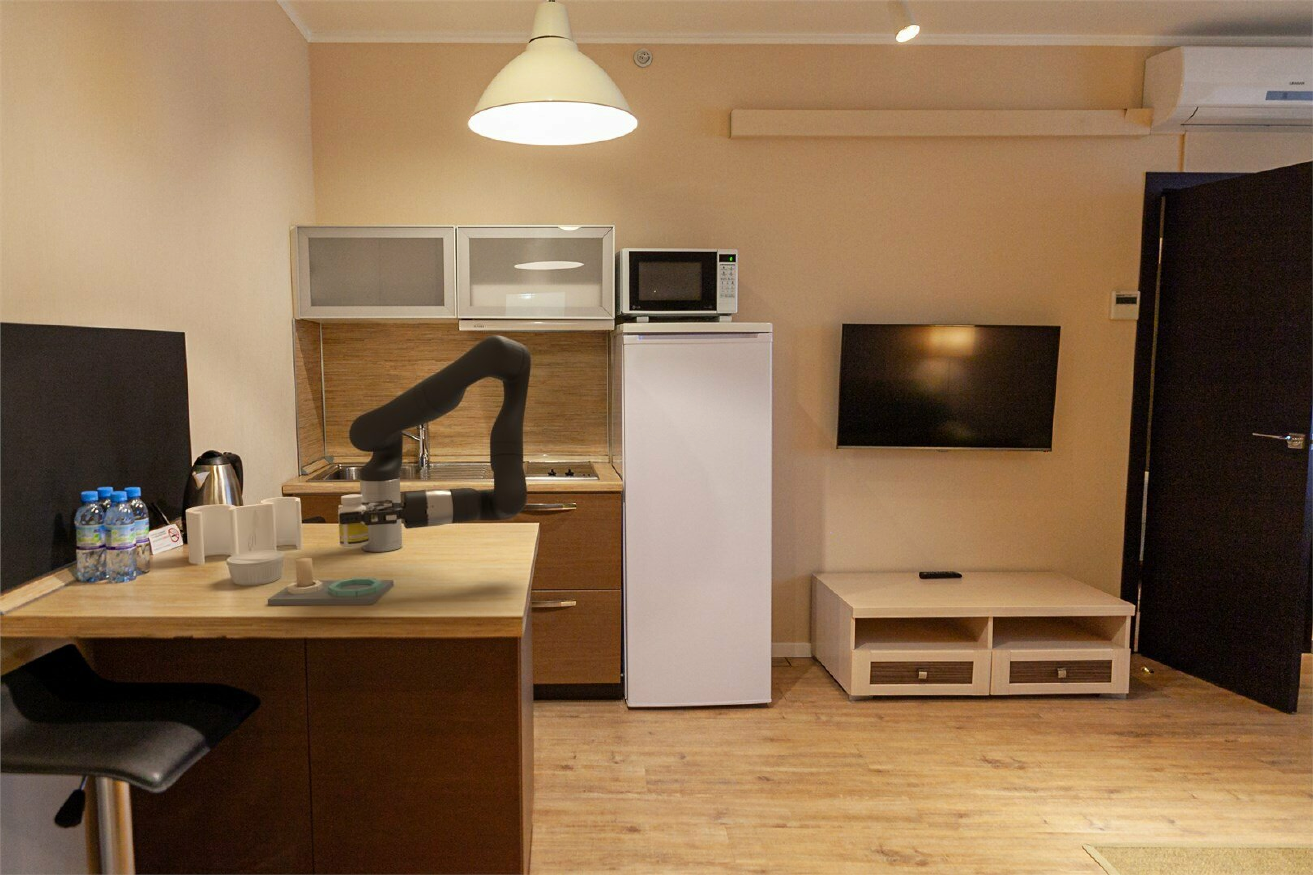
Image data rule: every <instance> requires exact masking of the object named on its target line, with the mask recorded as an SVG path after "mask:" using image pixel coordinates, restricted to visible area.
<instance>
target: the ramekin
mask: <svg viewBox="0 0 1313 875" xmlns="http://www.w3.org/2000/svg"><path fill="white" fill-rule="evenodd" d="M285 557H286V555H285V552H283V551H282V550H277V551H276V550H257V551H250V552H244V553H240V554H236V555H233V556H231V555H230V556H229V557H228V558H227V559H226V565H227V566H228V572H229V575H230V577H231V581H232V582H233V584H235V585H237V586H244V587H248V586H260V585H266V584H270V583H274V582H276V581H278V580H280V579H281V577H282V575H283V570H284V562H285V560H284V559H285Z"/></svg>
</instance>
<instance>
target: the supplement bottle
mask: <svg viewBox="0 0 1313 875" xmlns="http://www.w3.org/2000/svg"><path fill="white" fill-rule="evenodd" d="M340 502H341V505H342V506H341V508H340V507H339V508H340V509H339V510H338V509H337V517H338V520H339V514H340V513H343V512H355V511H359V513H360V511H362V510H367V508H366V507H365V506H363V505H362V502H363V496H362V495H361V493H360V494H359V493H358V494H357V493H356V494H353V493H351V494H347V495H346V494H345V495H342V496H340ZM338 530H339V531H338V533H339V534H338V535H339V545H340V547H343V548H358V547H359V548H360V547H361V546H363V545H366V544H368V543H369V534H368V526H367V525H365V524H361V522H360V523H354V524H343V525H342V524H340V522H339V521H338Z"/></svg>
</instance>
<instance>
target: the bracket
mask: <svg viewBox="0 0 1313 875" xmlns="http://www.w3.org/2000/svg"><path fill="white" fill-rule="evenodd" d="M185 519H186V520H185V521H186V536H187V550H188V551H187V552H188V562H189V563H190V564H193V565H197V566H203V565H205V564H206V561H205V557H208V556H214V555H215V556H216V555H218V556H219V555H229V556H230V557H231V556H233V555H236V554H240V553H244V552H250V551H257V550H276V551H278V549H277V547H279V546H296V549H297V550H302V549H303V547H304V545H303V526H302V525H303V523H302V504H301V498H300V497H295V496H283V497H282V496H281V497H280V496H279V497H270V498H265V499H262V500H261V501H260V502H259V503H257V504H256V503H255V504H249V505H241V506H240V505H239V506H236V505H233V504H227V503H225V504H221V503H220V504H218V503H217V504H207V505H205V504H204V505H198V506H193V507H190V508H187V509H186V510H185Z"/></svg>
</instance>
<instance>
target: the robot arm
mask: <svg viewBox="0 0 1313 875" xmlns="http://www.w3.org/2000/svg"><path fill="white" fill-rule="evenodd" d="M531 357H532V356H531V352H530V350H529V349H528V347H526V346H525V345H524V344H522V343H520V342H518V341H515V340H513V339H510V338H508V337H506V336H503V335H495V334H494V335H490V336H486V338H484V339H483V340H481V341H480V342H478V343H477V344H476V345H474V346H472V348H471V349H469V350H468V351H466V352H465V353H464V354H463V355H461V357H459V358H458V359H456V360H455V361H453V362H451V363H449V364H448V365H447V366H445V367H443V368H442V369H440V370H439V371H437V372H436V373H434V374H431V375H429V376H428V377H426V378H425V379H422V380H421V381H420V382H418V383H416V384H415V385H414V386H412V387H410V388H409V389H407V390H405V391H404V392H402V393H401V394H399V395H398V396H396V397H395V398H393V399H392V400H391V401H389V402H387V403H385V404H384V405H380V406H379V407H377V408H375V409H372V410H369V411H368V412H365V413H362V414H360V415H359V416H357V417H356V418H355V419H354V420H353V421H352V423H351V425H350V428H349V432H348V438H349V441H350V443H351V445H352V447H354V448H355V449H356V450H358V451H361V452H365V453H372V455H371V458H370V459H369V461H367V462H366V464H364V465H362V466H361V468H359V484H360V485H359V488H360V495H362V496H363V502H362V505H363V506H365V507H366V508H367V510H362V511H360V513H359V511H355V512H343V513H340V514H339V519H338V523H339V522H340V524H342V525H343V524H354V523H360V522H361V524H365V525H367V526H368V534H369V543H368V544H366V545H363V546H360V547H361V548H362V549H363V551H366V552H371V553H372V552H375V553H380V552H389V551H396V550H398V549H401V548H402V547H403V533H402V532H403V530H402V527H404V528H405V529H421V528H429V527H440V526H443V525H448V524H459V523H467V522H473V521H474V522H475V521H484V522H485V521H487V522H489V521H491V522H492V521H496V522H497V521H507V520H511V519H513V518H515V517H516V516H517V515H519V514H520V513H522V511H523V510H524V509H525V507H526V505H527V500H528V488H527V487H528V486H527V481H526V475H525V469H524V422H525V421H524V419H525V413H526V405H527V399H528V398H527V397H528V391H529V383H530V378H531V377H530V376H531V368H532V366H531V364H532V358H531ZM487 378H492V379H496V380H499V381H501V382H502V386H503V399H502V400H503V402H502V404H501V408H500V411H499V413H498V415H497V416H496V418H495V421H494V423H493V424H492V427H491V432H490V437H489V438H490V439H489V464H490V469H491V471H492V472H493V488H492V489H491V488H490V489H479V490H478V489H475V488H473V487H472V488H471V487H461V488H460V487H459V488H447V489H445V488H434V489H433V488H432V489H431V488H429V489H419V490H408V491H407V490H406V491H405V490H404V491H403V492H402V494H401V475H400V474H401V472H400V471H401V468H402V466H403V461H404V460H403V454H404V453H403V451H404V450H403V449H404V448H403V446H404V442H403V441H404V436H403V431H406V430H408V429H414V428H415V427H419V426H422V425H425V424H428V423H431V422H433V421H436V420H438V419H440V418H441V417H443V416H446V415H447V414H448V413H451V412H453V411H454V410H455V409H456V408H458V406H459V405H460V404H461V402H463V401H462V400H463V398H464V396H465V393H466V392H467V389H468V388H469V387H470V386H471V385H473V384H476V383H477V382H480V381H481V380H483V379H487ZM341 507H342V506H341ZM341 507H340V506H339V507H338V509H337V511H338V510H339V509H340V508H341ZM402 525H403V526H402Z"/></svg>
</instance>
